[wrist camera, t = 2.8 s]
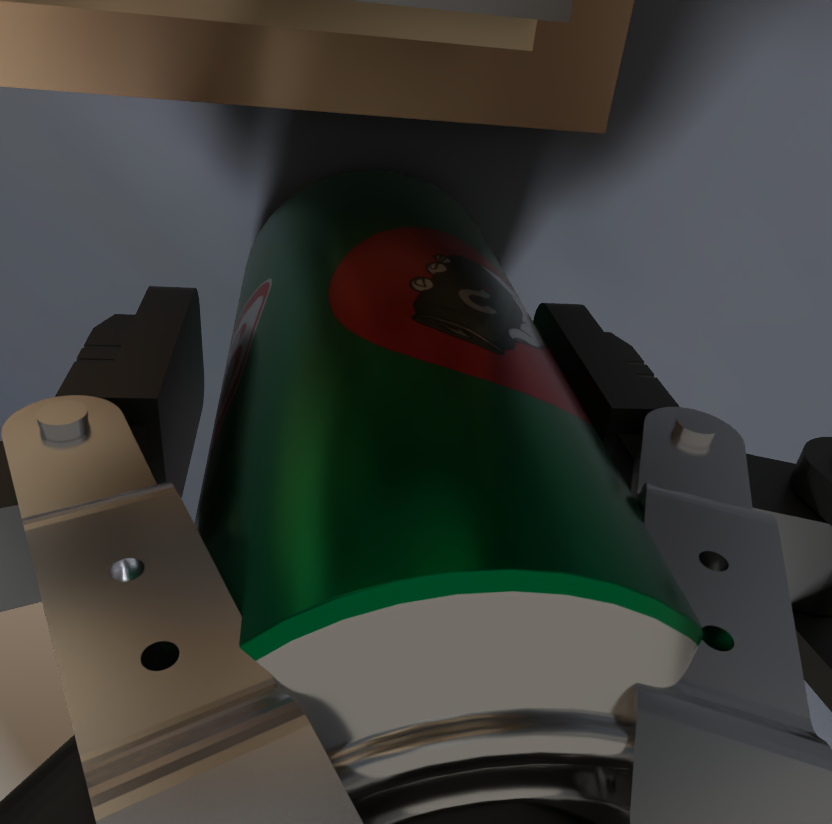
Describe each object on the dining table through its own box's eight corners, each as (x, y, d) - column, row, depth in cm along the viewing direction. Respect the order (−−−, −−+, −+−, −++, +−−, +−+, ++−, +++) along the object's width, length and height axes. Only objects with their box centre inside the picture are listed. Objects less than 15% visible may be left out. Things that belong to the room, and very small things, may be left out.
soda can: (211, 193, 14) (-39, 831, 4) (470, 135, 14) (870, 629, 4) (285, 410, 17) (246, 1107, 7) (501, 361, 17) (782, 988, 7)
